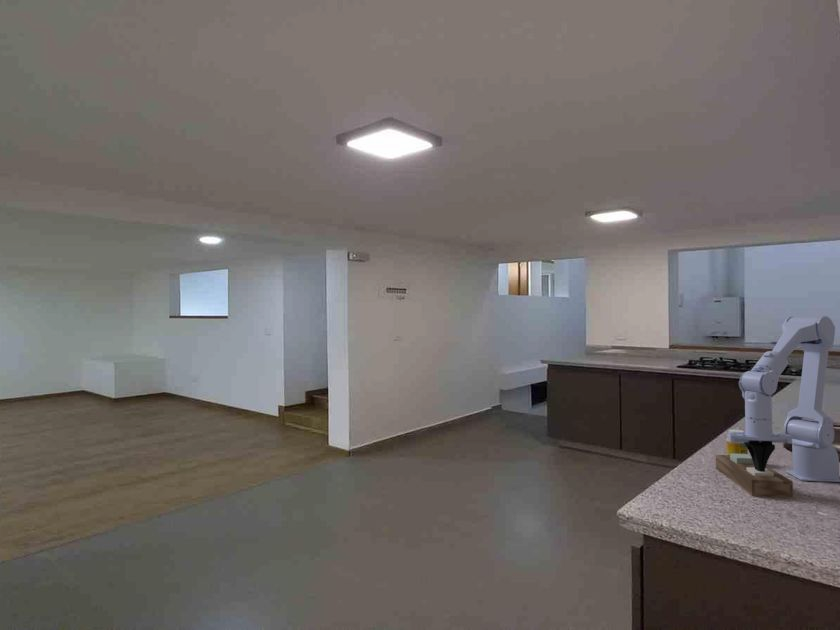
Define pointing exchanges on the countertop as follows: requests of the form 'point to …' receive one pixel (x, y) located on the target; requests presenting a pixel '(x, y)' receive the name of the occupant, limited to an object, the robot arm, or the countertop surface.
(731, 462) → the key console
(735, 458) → the sage key
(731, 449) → the supplement bottle
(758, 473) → the off white key
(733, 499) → the countertop surface
